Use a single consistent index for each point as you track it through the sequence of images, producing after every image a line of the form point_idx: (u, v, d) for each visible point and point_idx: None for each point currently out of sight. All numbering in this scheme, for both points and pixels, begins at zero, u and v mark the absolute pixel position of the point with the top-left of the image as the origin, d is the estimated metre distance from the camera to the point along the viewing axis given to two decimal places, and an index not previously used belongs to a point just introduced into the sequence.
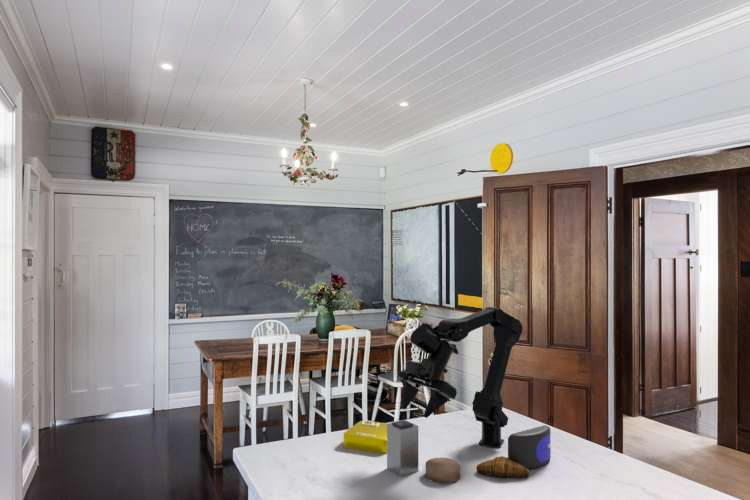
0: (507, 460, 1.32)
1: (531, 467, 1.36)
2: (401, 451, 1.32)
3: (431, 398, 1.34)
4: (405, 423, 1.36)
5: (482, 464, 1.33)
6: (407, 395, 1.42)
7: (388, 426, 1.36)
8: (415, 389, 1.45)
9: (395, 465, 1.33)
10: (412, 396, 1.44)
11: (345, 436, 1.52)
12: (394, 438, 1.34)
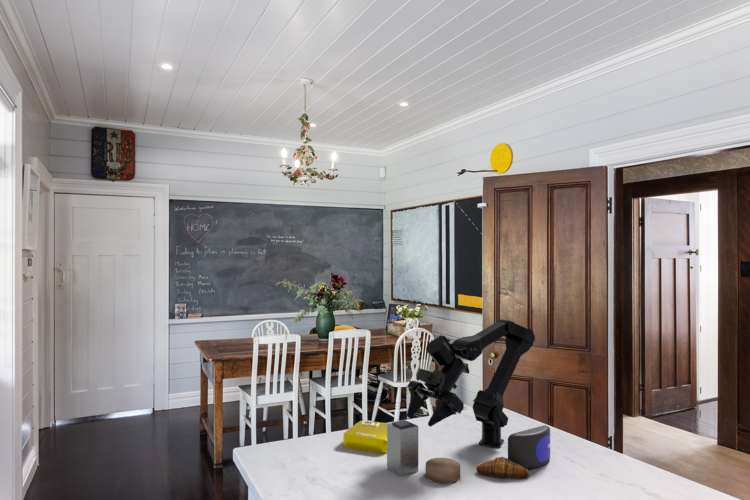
0: (507, 461, 1.32)
1: (531, 467, 1.36)
2: (401, 451, 1.32)
3: (438, 408, 1.36)
4: (405, 423, 1.36)
5: (482, 465, 1.33)
6: (413, 404, 1.44)
7: (388, 426, 1.36)
8: (422, 401, 1.46)
9: (395, 465, 1.33)
10: (418, 406, 1.45)
11: (345, 436, 1.52)
12: (394, 438, 1.34)
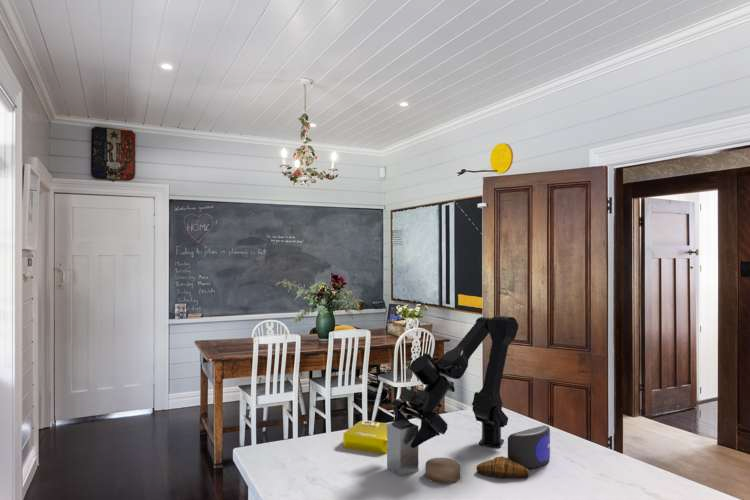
0: (507, 460, 1.32)
1: (531, 467, 1.36)
2: (401, 451, 1.32)
3: (421, 429, 1.32)
4: (405, 423, 1.36)
5: (482, 464, 1.33)
6: None
7: (388, 426, 1.36)
8: (406, 420, 1.43)
9: (395, 465, 1.33)
10: None
11: (345, 436, 1.52)
12: (394, 438, 1.34)
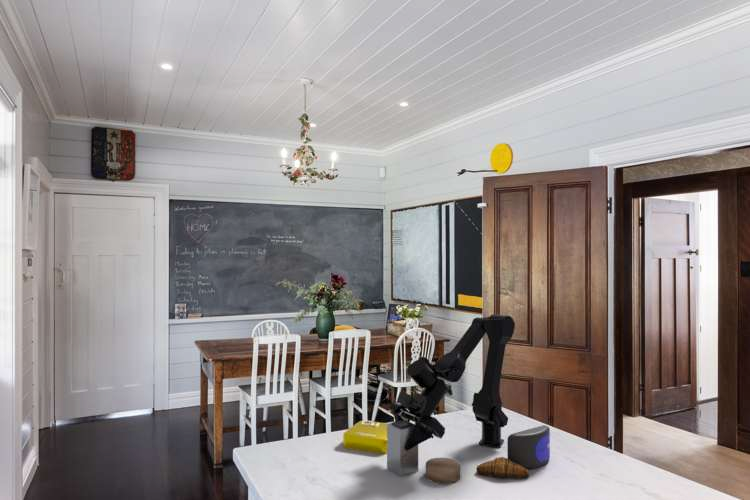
0: (507, 461, 1.32)
1: (531, 467, 1.36)
2: (401, 451, 1.32)
3: (415, 431, 1.33)
4: (405, 423, 1.36)
5: (482, 465, 1.33)
6: None
7: (388, 426, 1.36)
8: None
9: (395, 465, 1.33)
10: None
11: (345, 436, 1.52)
12: (394, 438, 1.34)
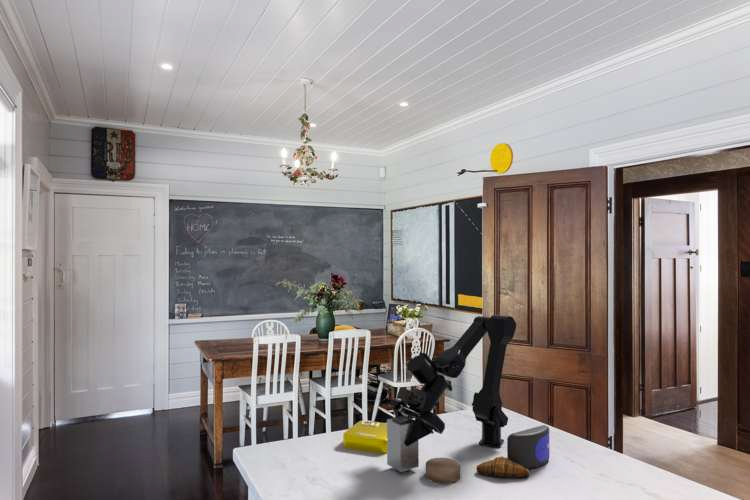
0: (507, 460, 1.32)
1: (530, 467, 1.36)
2: (401, 447, 1.32)
3: (415, 427, 1.33)
4: (405, 419, 1.36)
5: (482, 464, 1.33)
6: None
7: (388, 422, 1.36)
8: None
9: (395, 460, 1.33)
10: None
11: (345, 436, 1.52)
12: (394, 434, 1.34)
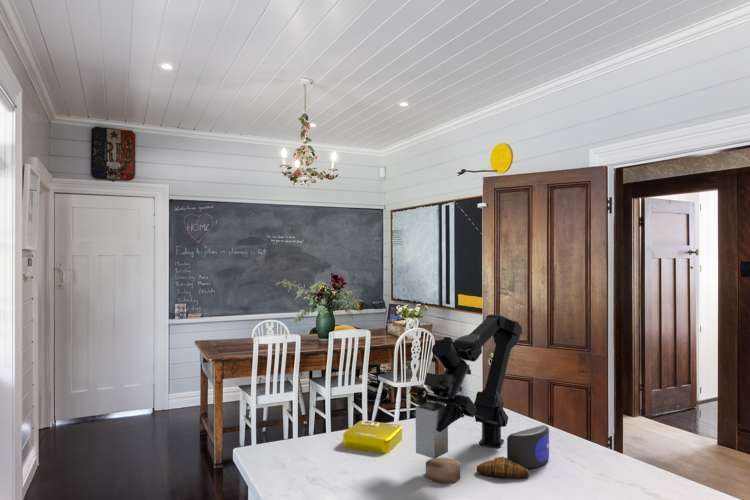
0: (507, 461, 1.32)
1: (530, 467, 1.36)
2: (434, 433, 1.29)
3: (446, 412, 1.31)
4: (434, 404, 1.33)
5: (482, 465, 1.33)
6: None
7: (417, 409, 1.32)
8: None
9: (427, 448, 1.30)
10: None
11: (345, 436, 1.52)
12: (425, 421, 1.30)
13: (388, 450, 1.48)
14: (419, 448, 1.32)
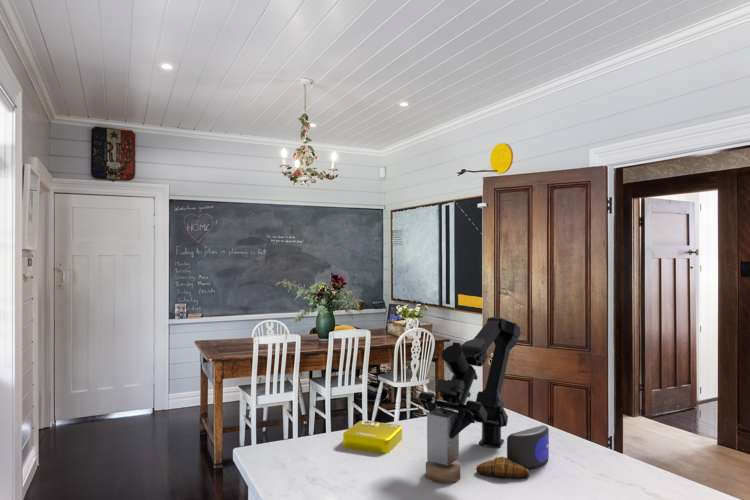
0: (507, 460, 1.31)
1: (530, 467, 1.36)
2: (447, 439, 1.28)
3: (458, 418, 1.30)
4: (446, 411, 1.32)
5: (482, 465, 1.33)
6: None
7: (429, 416, 1.31)
8: None
9: (439, 455, 1.29)
10: None
11: (345, 436, 1.52)
12: (438, 427, 1.30)
13: (388, 450, 1.48)
14: (431, 455, 1.31)
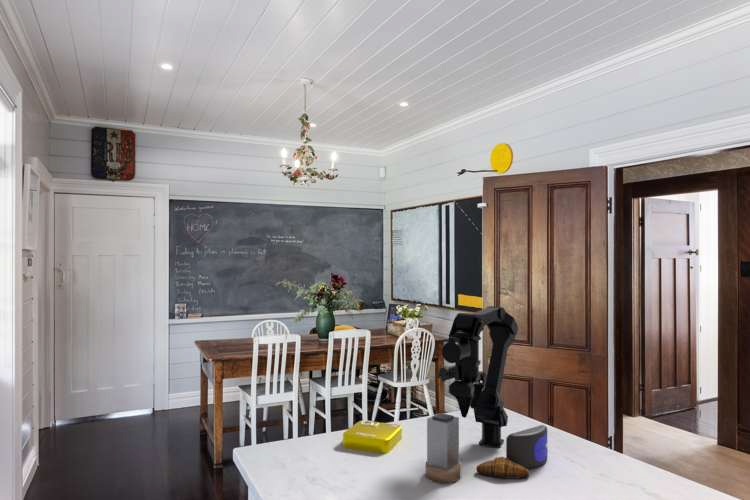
0: (507, 461, 1.31)
1: (529, 467, 1.36)
2: (447, 445, 1.28)
3: None
4: (446, 416, 1.32)
5: (482, 465, 1.33)
6: None
7: (429, 421, 1.31)
8: (478, 386, 1.47)
9: (439, 460, 1.29)
10: (477, 393, 1.47)
11: (344, 436, 1.52)
12: (438, 433, 1.30)
13: (388, 450, 1.48)
14: (431, 460, 1.31)
